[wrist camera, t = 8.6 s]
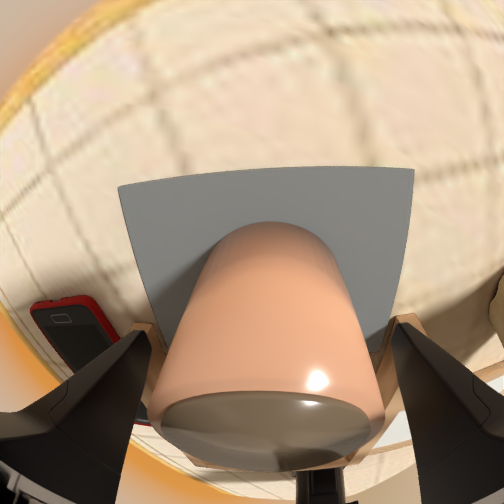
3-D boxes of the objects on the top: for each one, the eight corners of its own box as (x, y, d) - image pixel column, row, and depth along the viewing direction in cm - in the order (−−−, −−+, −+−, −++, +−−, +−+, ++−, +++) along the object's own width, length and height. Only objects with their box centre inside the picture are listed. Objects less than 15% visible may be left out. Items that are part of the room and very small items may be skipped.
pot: (333, 332, 13) (355, 467, 6) (214, 335, 13) (183, 466, 7) (344, 218, 10) (426, 369, 4) (191, 225, 11) (101, 370, 4)
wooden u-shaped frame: (356, 440, 20) (359, 463, 18) (200, 443, 22) (195, 466, 19) (415, 313, 12) (434, 349, 10) (133, 322, 14) (113, 358, 11)
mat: (378, 349, 14) (379, 351, 13) (172, 354, 15) (171, 357, 15) (411, 168, 9) (414, 170, 9) (120, 185, 10) (117, 187, 10)
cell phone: (94, 289, 13) (86, 299, 13) (191, 422, 20) (189, 430, 19) (32, 300, 15) (25, 307, 14) (125, 414, 21) (122, 422, 20)
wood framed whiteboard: (526, 349, 14) (530, 355, 13) (478, 412, 20) (480, 418, 19) (400, 394, 16) (403, 404, 15) (364, 448, 21) (365, 456, 21)
